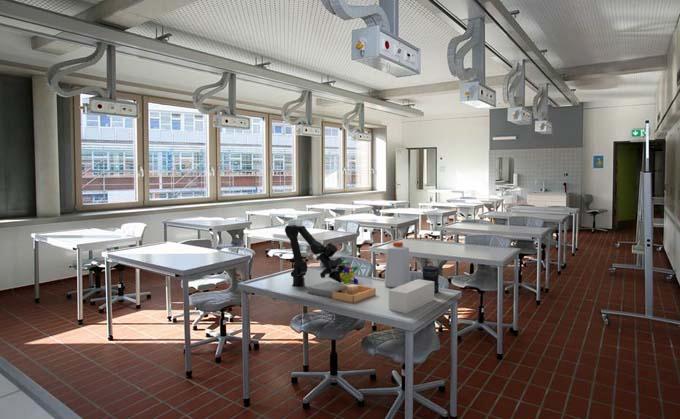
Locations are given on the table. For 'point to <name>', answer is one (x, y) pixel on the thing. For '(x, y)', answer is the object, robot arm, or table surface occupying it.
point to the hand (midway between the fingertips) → (340, 282)
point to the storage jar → (431, 276)
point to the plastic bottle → (397, 265)
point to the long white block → (411, 295)
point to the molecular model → (351, 275)
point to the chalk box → (345, 266)
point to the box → (362, 294)
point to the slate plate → (325, 288)
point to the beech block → (349, 289)
